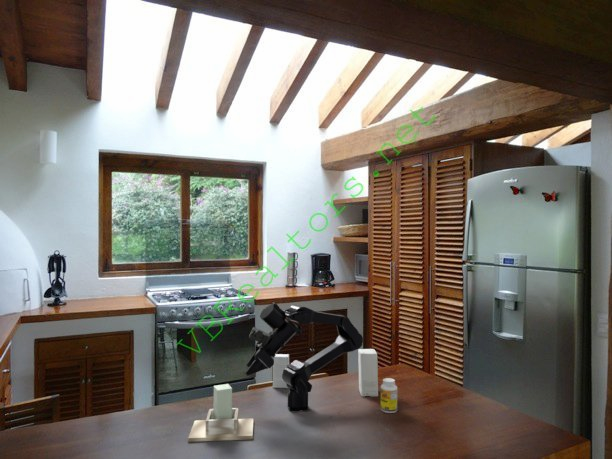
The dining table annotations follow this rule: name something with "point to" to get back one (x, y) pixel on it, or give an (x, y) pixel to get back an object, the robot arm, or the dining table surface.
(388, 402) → the supplement bottle
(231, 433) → the holder
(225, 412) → the peg
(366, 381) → the skincare box
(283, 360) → the skincare box
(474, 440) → the dining table surface
